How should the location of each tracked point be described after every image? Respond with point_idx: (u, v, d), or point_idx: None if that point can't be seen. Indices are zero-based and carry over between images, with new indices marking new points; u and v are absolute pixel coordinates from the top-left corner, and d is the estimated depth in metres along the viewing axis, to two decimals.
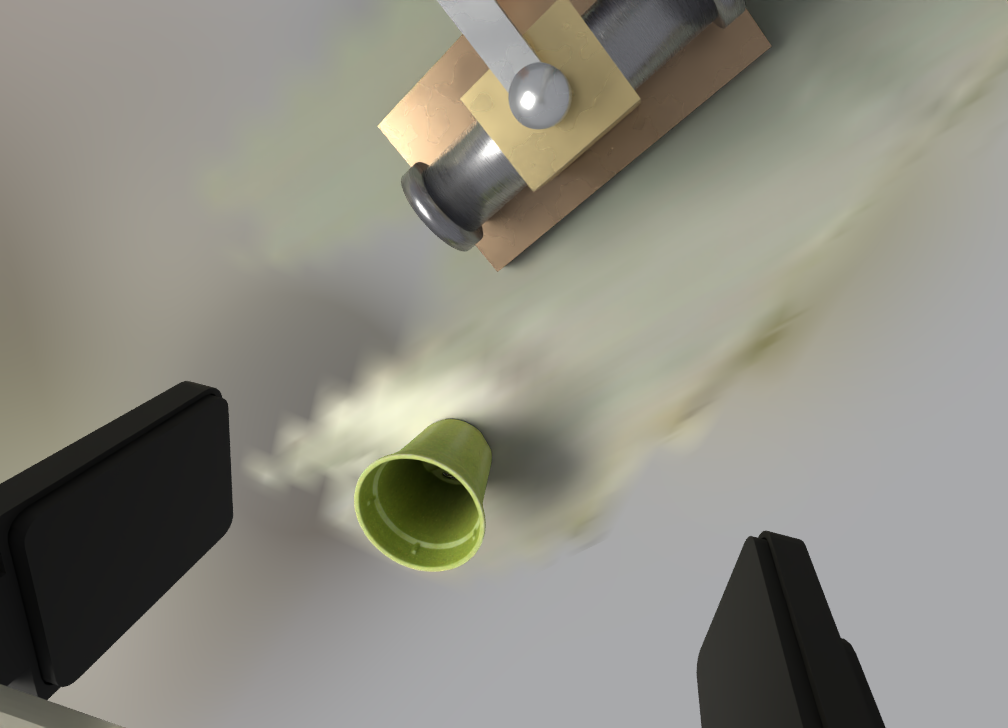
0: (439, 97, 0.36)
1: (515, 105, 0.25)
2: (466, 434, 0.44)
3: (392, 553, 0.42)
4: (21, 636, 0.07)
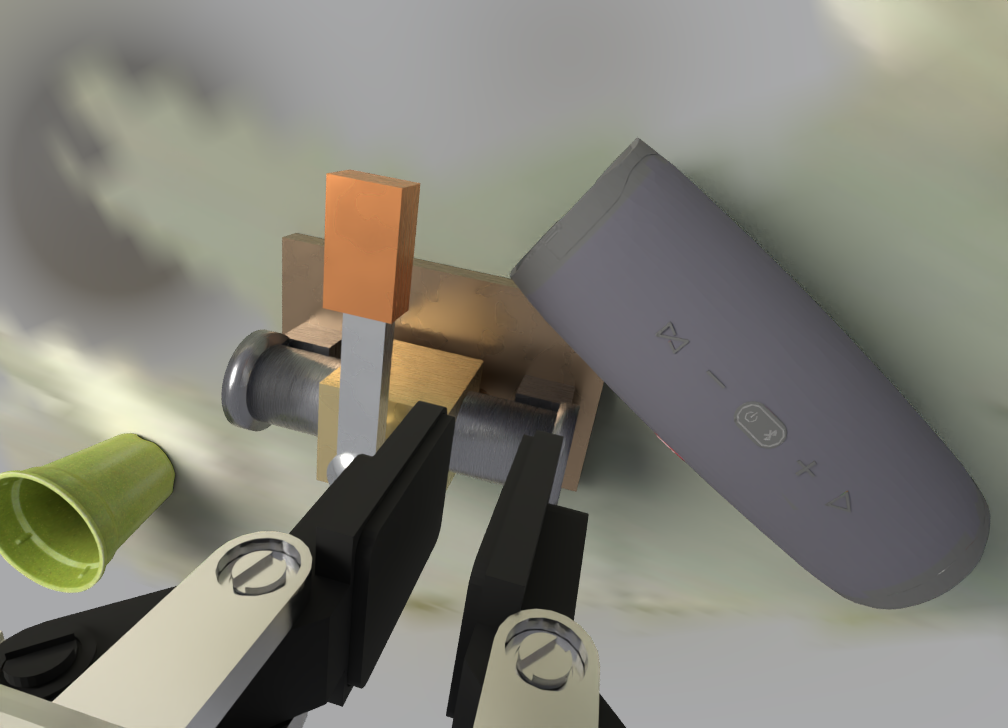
0: None
1: (333, 467, 0.26)
2: (156, 477, 0.43)
3: None
4: (346, 642, 0.08)
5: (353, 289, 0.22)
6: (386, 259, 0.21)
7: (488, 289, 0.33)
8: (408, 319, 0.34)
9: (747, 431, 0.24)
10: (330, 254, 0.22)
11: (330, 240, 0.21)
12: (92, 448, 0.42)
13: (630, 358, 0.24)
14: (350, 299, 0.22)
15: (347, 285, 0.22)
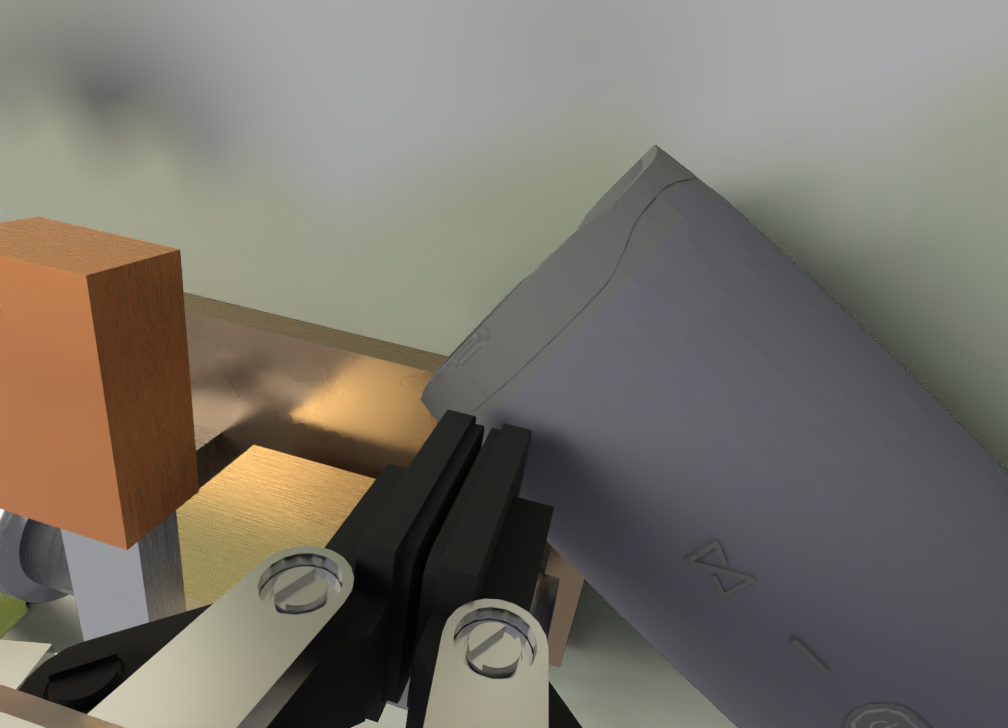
0: (211, 353, 0.23)
1: None
2: None
3: None
4: (384, 658, 0.08)
5: (40, 479, 0.10)
6: (89, 426, 0.09)
7: (418, 379, 0.21)
8: (302, 417, 0.23)
9: None
10: None
11: None
12: None
13: (632, 585, 0.12)
14: (39, 497, 0.10)
15: (27, 470, 0.10)
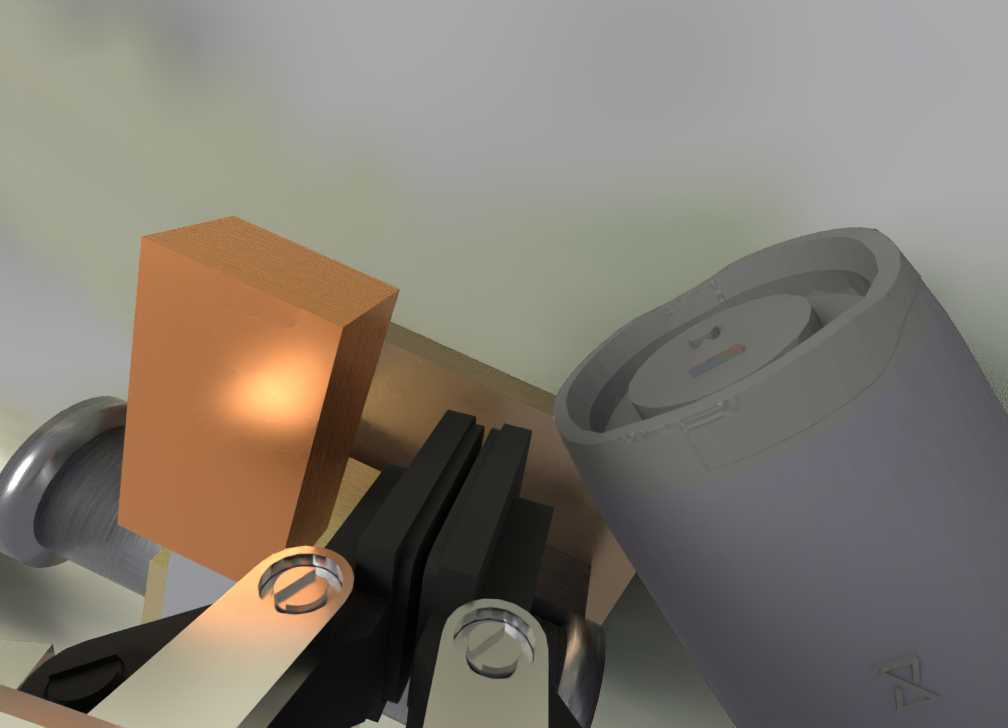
0: None
1: None
2: None
3: None
4: (384, 657, 0.08)
5: (190, 510, 0.09)
6: (277, 473, 0.08)
7: (487, 398, 0.20)
8: None
9: None
10: (140, 424, 0.09)
11: (142, 395, 0.08)
12: None
13: (788, 681, 0.12)
14: (182, 527, 0.09)
15: (177, 498, 0.09)
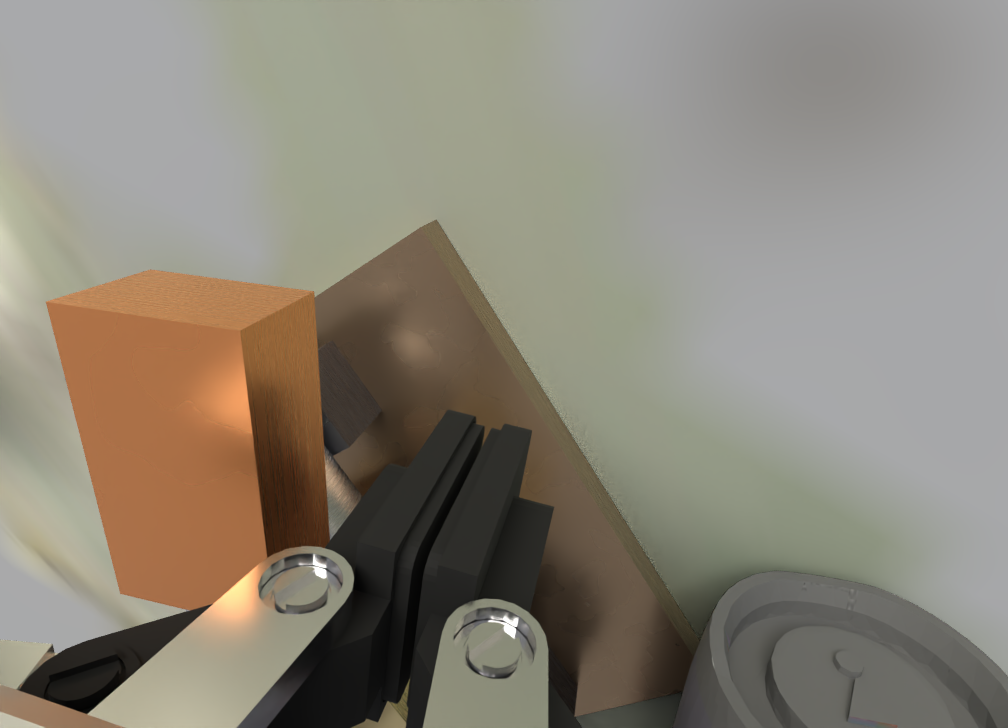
0: (456, 363, 0.19)
1: None
2: None
3: None
4: (384, 657, 0.08)
5: (176, 560, 0.09)
6: (236, 499, 0.08)
7: (608, 542, 0.21)
8: None
9: None
10: (107, 486, 0.09)
11: (98, 457, 0.09)
12: None
13: None
14: (174, 579, 0.09)
15: (161, 551, 0.09)
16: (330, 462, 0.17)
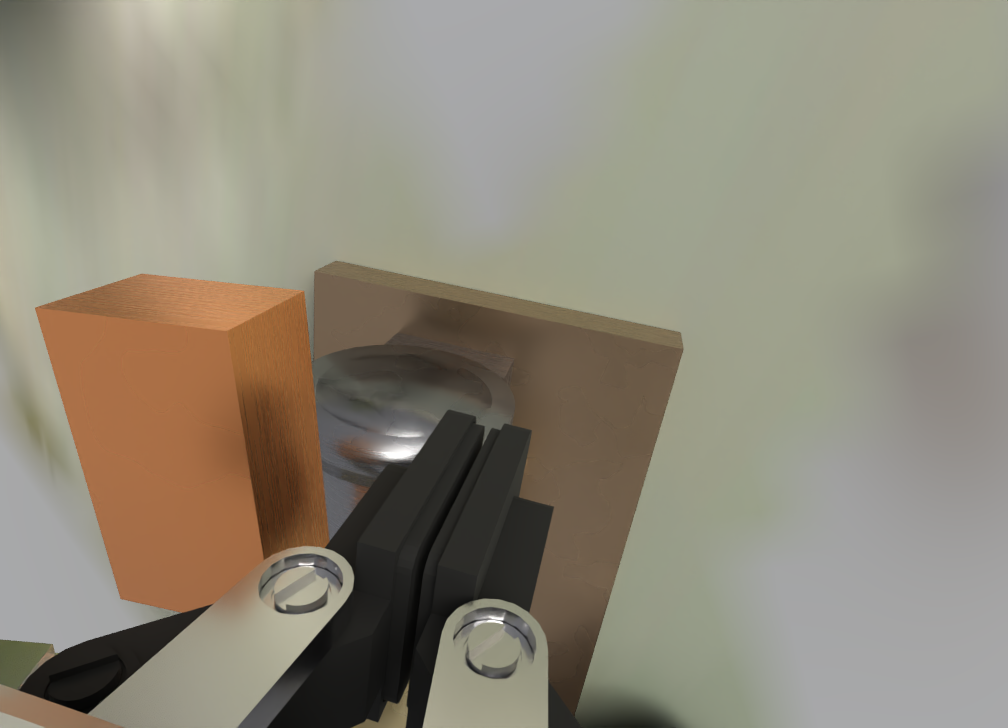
0: (602, 455, 0.20)
1: None
2: None
3: None
4: (384, 658, 0.08)
5: (174, 564, 0.09)
6: (231, 501, 0.08)
7: (585, 640, 0.23)
8: None
9: None
10: (102, 491, 0.09)
11: (93, 462, 0.08)
12: None
13: None
14: (173, 583, 0.09)
15: (159, 555, 0.09)
16: None
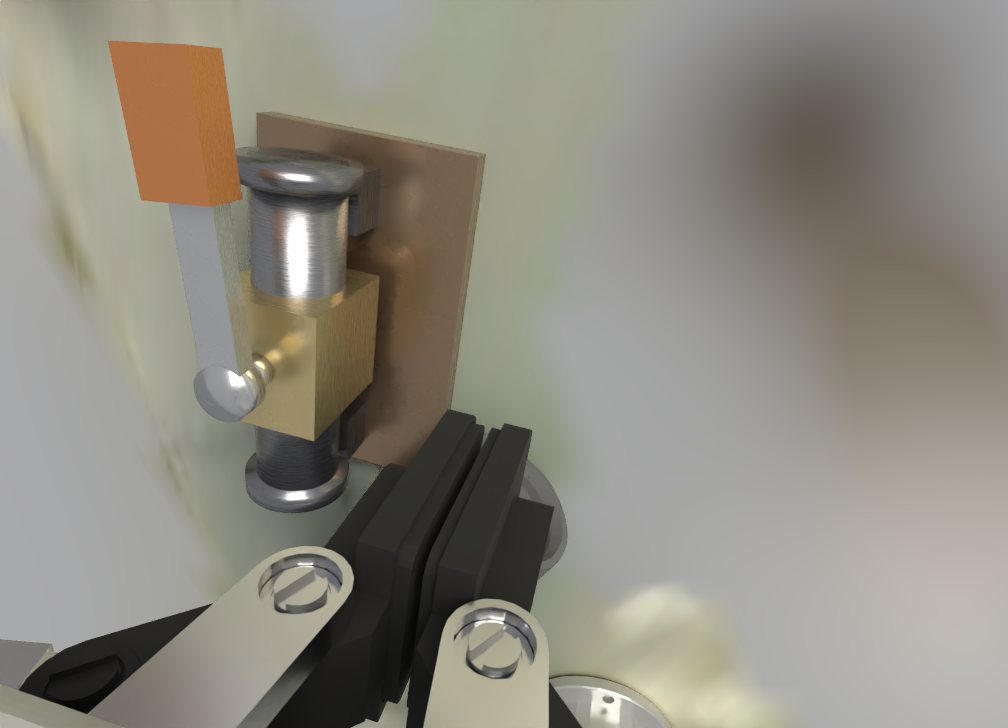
0: (439, 235, 0.31)
1: (199, 383, 0.25)
2: None
3: None
4: (383, 657, 0.08)
5: (165, 173, 0.20)
6: (189, 132, 0.20)
7: (441, 377, 0.34)
8: (402, 296, 0.33)
9: None
10: (134, 135, 0.20)
11: (130, 119, 0.20)
12: None
13: None
14: (165, 185, 0.21)
15: (158, 169, 0.20)
16: (347, 238, 0.28)
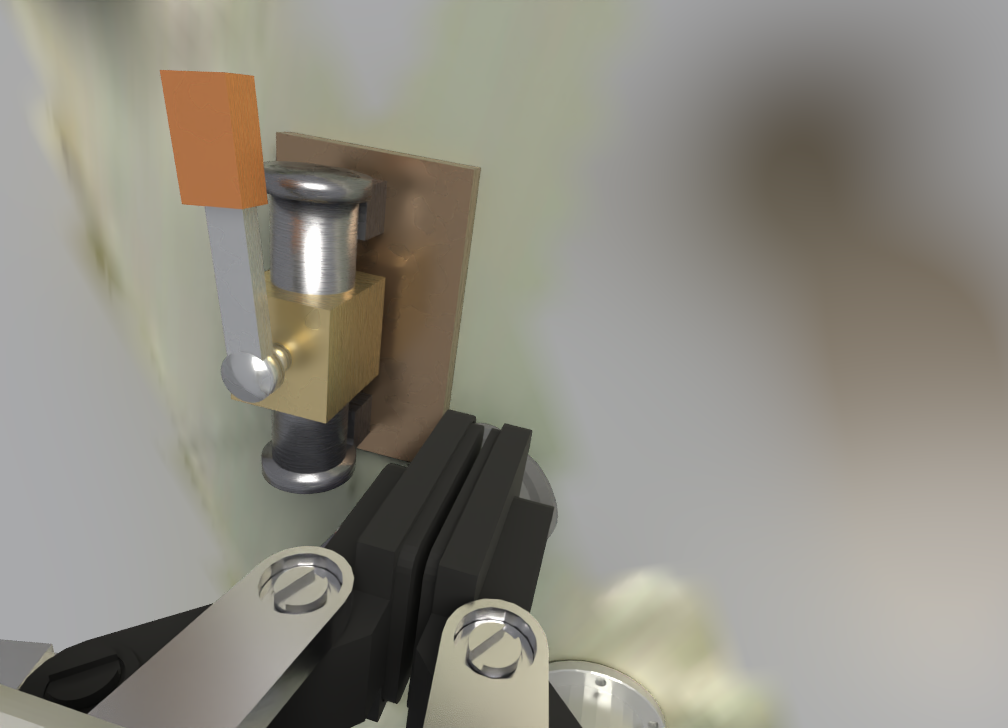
0: (439, 240, 0.34)
1: (226, 367, 0.28)
2: None
3: None
4: (384, 657, 0.08)
5: (204, 180, 0.24)
6: (225, 145, 0.23)
7: (441, 371, 0.38)
8: (406, 296, 0.36)
9: None
10: (178, 149, 0.23)
11: (175, 135, 0.23)
12: None
13: None
14: (203, 191, 0.24)
15: (198, 177, 0.24)
16: (357, 242, 0.31)
